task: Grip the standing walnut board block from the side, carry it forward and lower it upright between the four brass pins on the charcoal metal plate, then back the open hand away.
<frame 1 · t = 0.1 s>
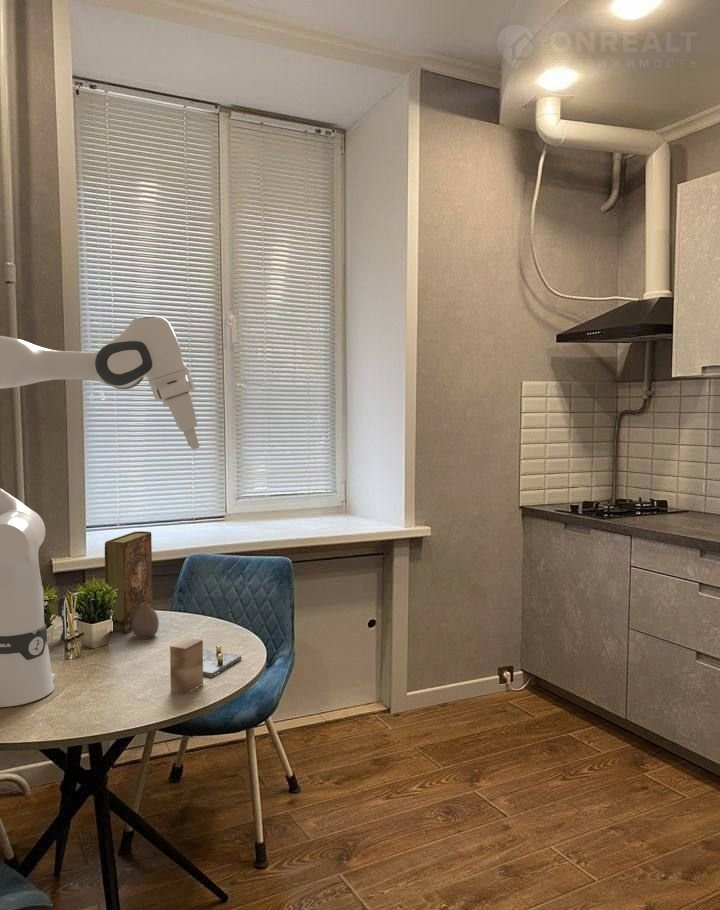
hand: (194, 447, 154), 52 cm above the table, tool tilted 20°, fingers open, 8 cm apart
pin plate: (207, 664, 164), on the table
vase: (145, 637, 184), on the table
board block: (187, 688, 151), on the table
book: (131, 625, 193), on the table
battery charger: (70, 637, 184), on the table
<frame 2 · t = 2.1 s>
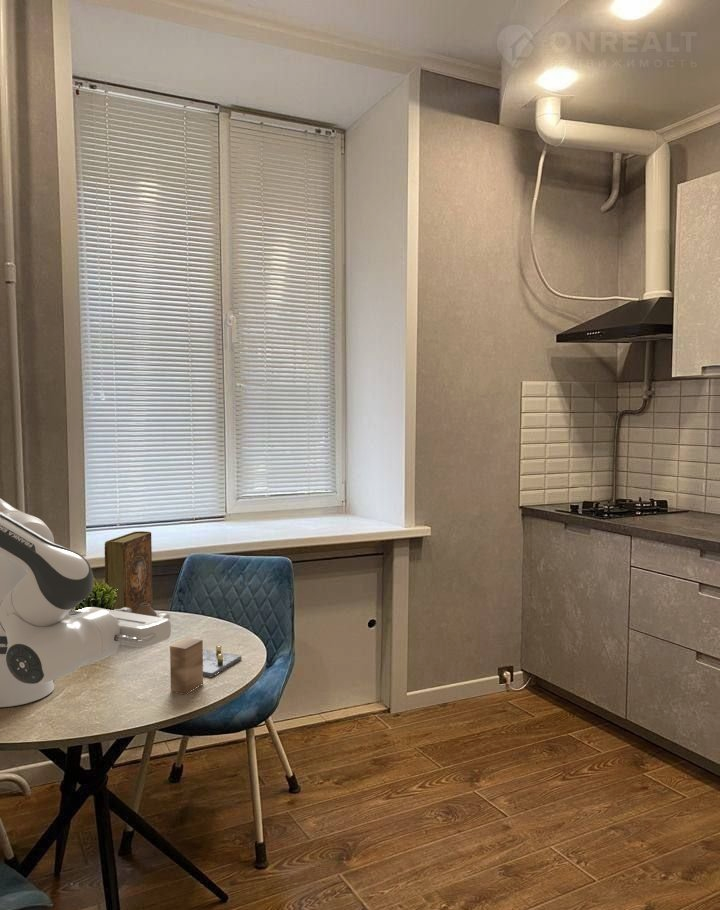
hand: (147, 614, 138), 20 cm above the table, tool horizontal, fingers open, 8 cm apart
nothing on the table moved.
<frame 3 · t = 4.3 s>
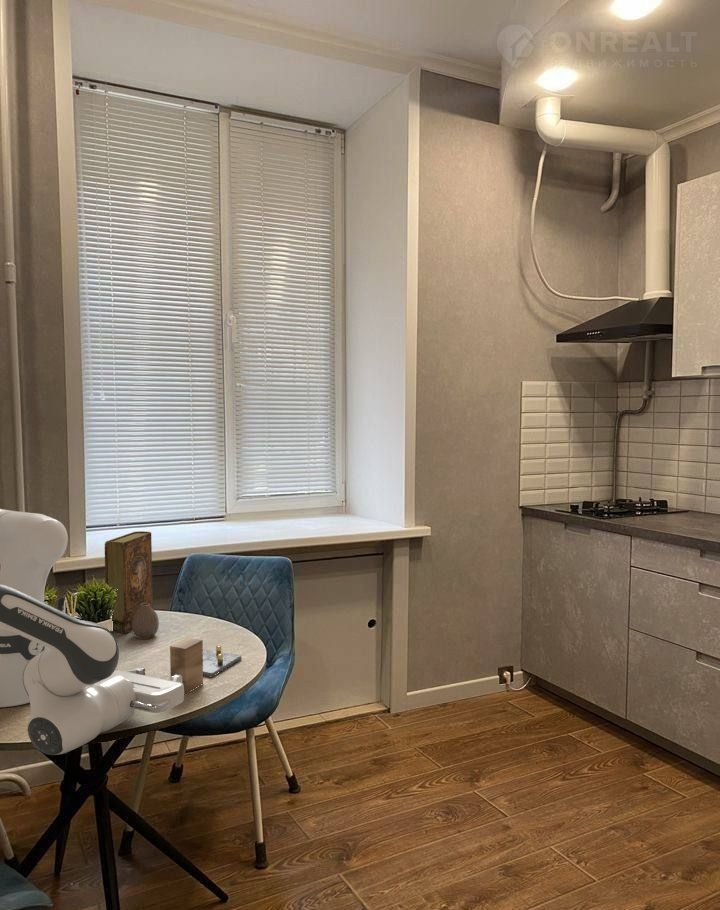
hand: (160, 675, 142), 6 cm above the table, tool horizontal, fingers open, 8 cm apart
nothing on the table moved.
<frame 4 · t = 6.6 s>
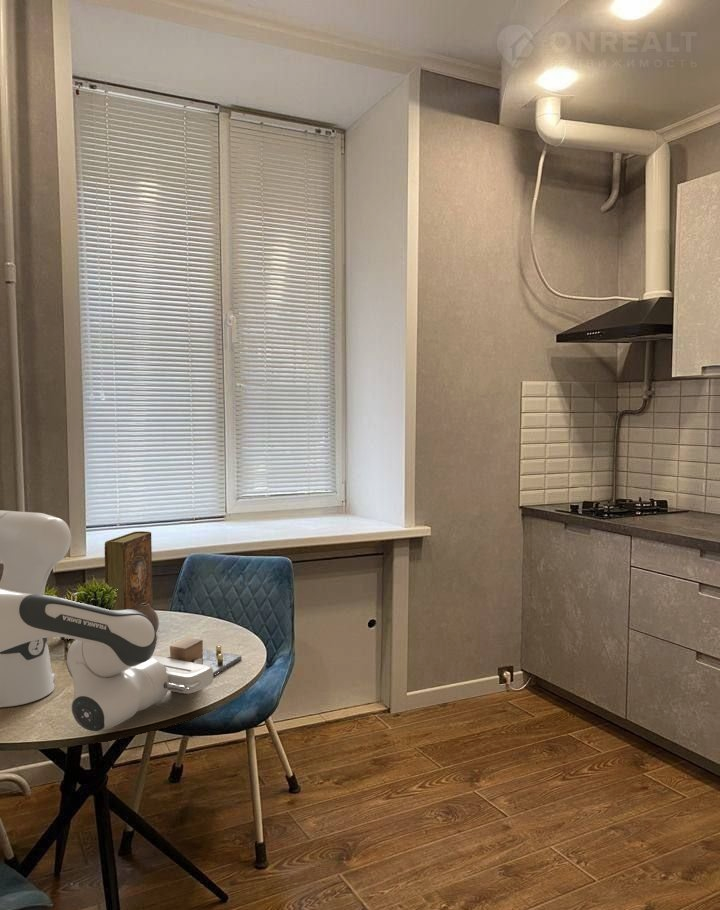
hand: (189, 659, 151), 6 cm above the table, tool horizontal, fingers closed on board block, 4 cm apart
board block: (187, 687, 151), on the table, touching gripper
everything else where it was.
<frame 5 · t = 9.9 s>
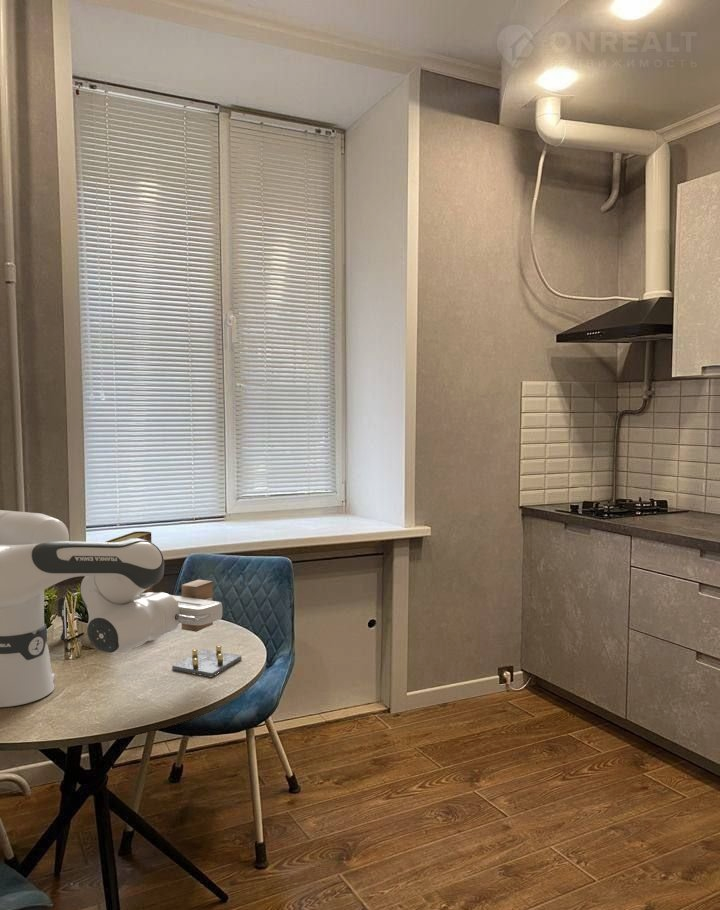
hand: (199, 599, 157), 17 cm above the table, tool horizontal, fingers closed on board block, 4 cm apart
board block: (197, 627, 156), point 11 cm above the table, touching gripper
everything else where it was.
when the fingers open (8 cm above the table, at t = 13.3 s): board block stays where it is, resting on pin plate.
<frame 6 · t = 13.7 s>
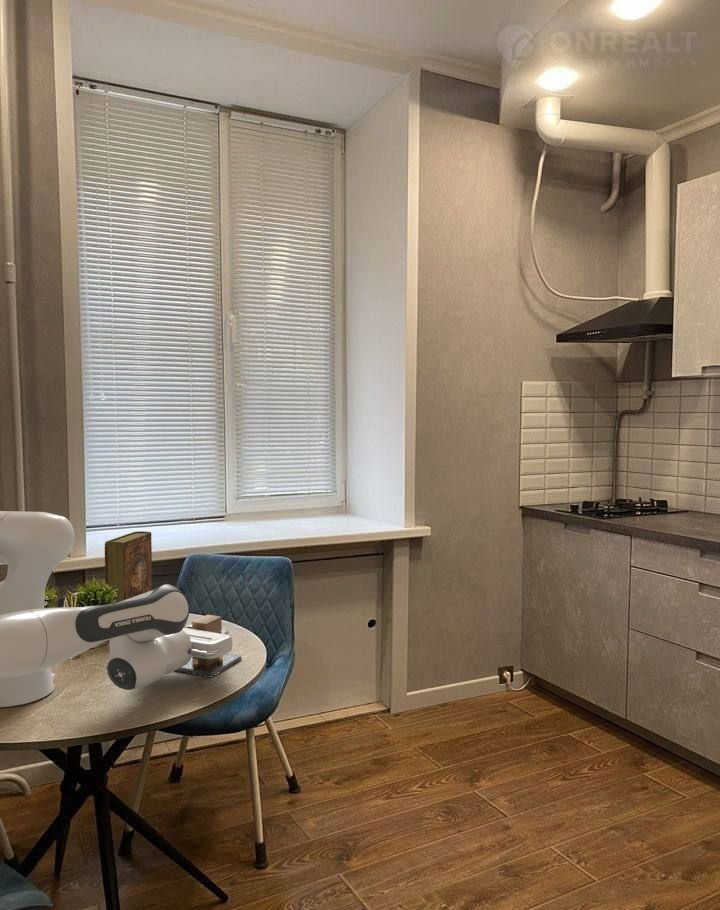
hand: (209, 630, 164), 8 cm above the table, tool horizontal, fingers open, 8 cm apart
board block: (207, 660, 164), point 1 cm above the table, touching pin plate
everything else where it was.
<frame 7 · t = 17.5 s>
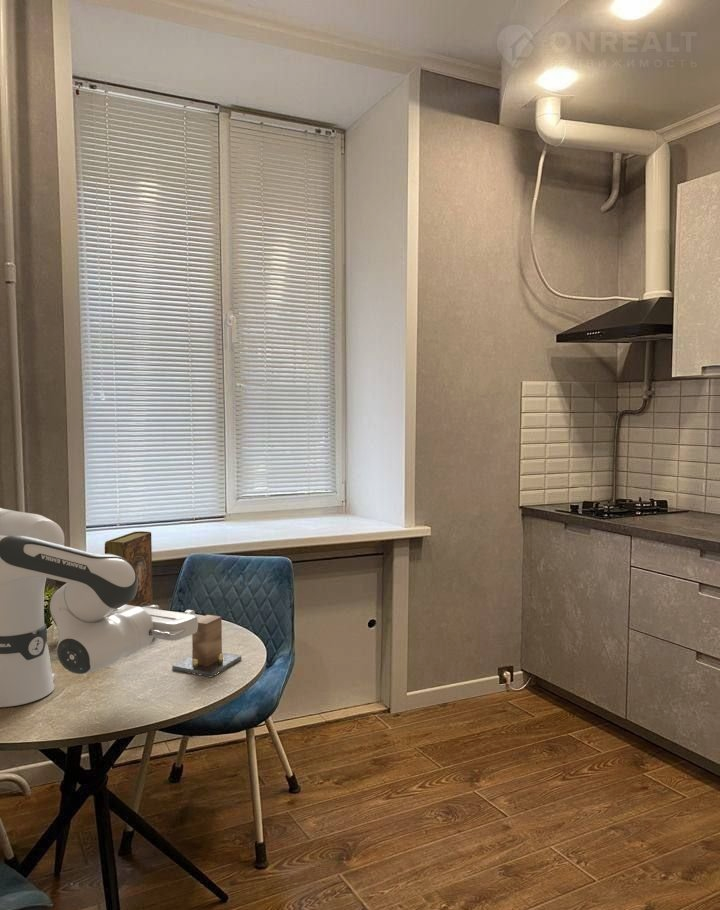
hand: (174, 611, 153), 16 cm above the table, tool horizontal, fingers open, 8 cm apart
nothing on the table moved.
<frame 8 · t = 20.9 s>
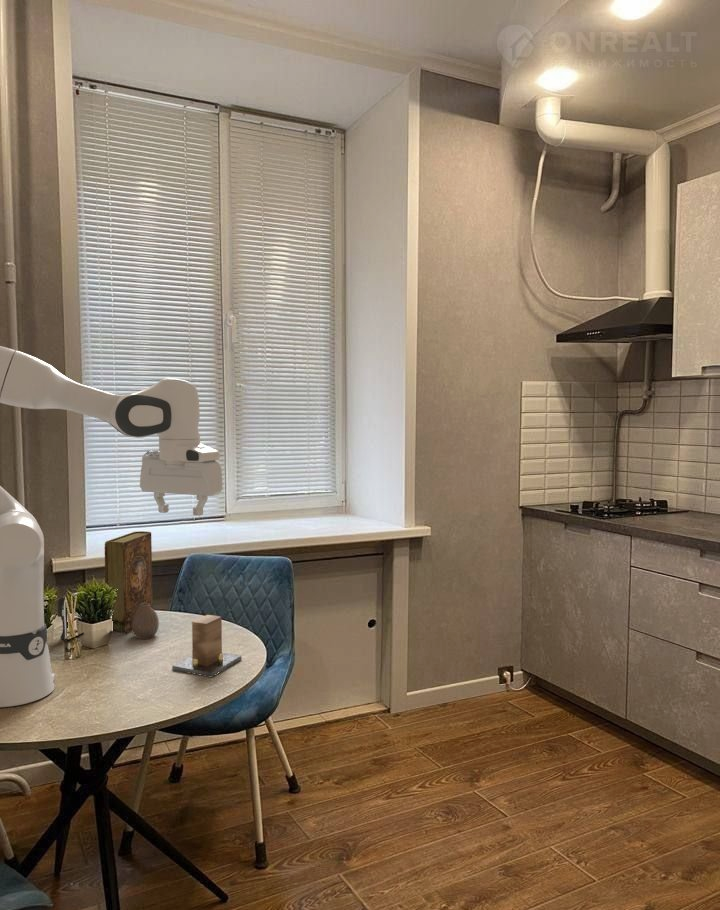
hand: (180, 513, 155), 37 cm above the table, tool pointing down, fingers open, 8 cm apart
nothing on the table moved.
at the end: board block 0.0 cm off-centre on the pin plate, point 1.0 cm above the pin plate's base; board block tilted 0°; the gripper is holding nothing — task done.
